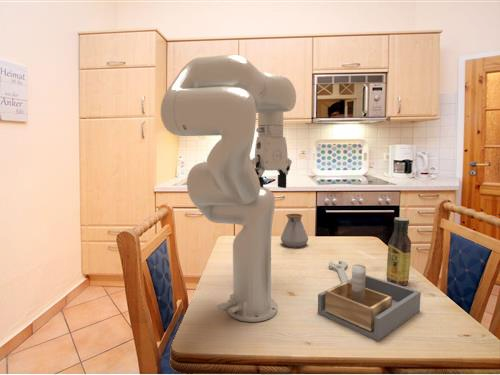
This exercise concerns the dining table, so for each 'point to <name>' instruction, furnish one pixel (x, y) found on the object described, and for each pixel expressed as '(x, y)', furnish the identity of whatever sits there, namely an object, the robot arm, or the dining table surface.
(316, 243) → the dining table surface
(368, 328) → the crate
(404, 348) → the dining table surface
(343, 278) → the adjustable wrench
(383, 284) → the bay
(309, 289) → the dining table surface
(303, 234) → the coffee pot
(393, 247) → the sauce bottle
